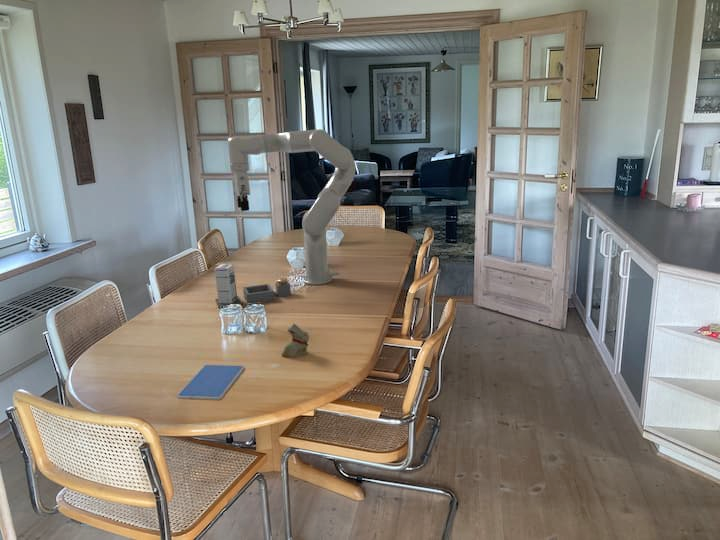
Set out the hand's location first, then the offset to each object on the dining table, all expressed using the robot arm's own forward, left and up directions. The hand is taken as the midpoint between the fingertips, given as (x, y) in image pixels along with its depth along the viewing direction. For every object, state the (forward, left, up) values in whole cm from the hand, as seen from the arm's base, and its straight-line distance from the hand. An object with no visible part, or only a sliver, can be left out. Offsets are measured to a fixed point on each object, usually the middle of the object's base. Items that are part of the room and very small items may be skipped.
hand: (243, 208), depth 239 cm
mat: (+12, +21, -33) cm, 41 cm away
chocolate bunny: (-1, +81, -34) cm, 88 cm away
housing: (-4, +21, -33) cm, 40 cm away
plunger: (-10, +21, -33) cm, 40 cm away
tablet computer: (+25, +90, -34) cm, 99 cm away
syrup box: (+12, +21, -33) cm, 41 cm away
